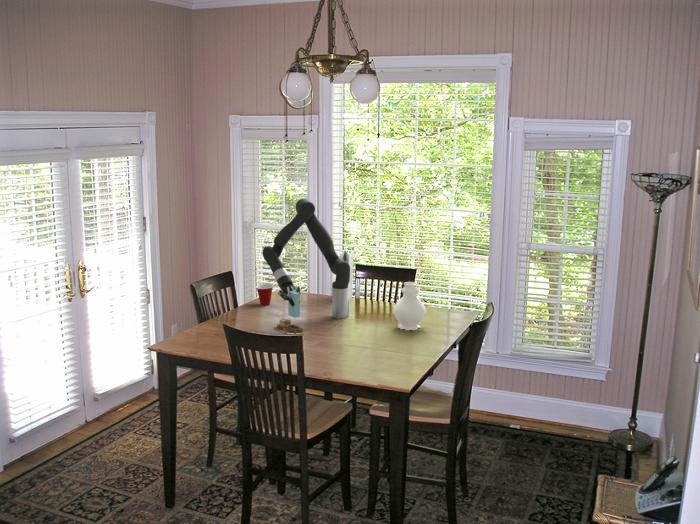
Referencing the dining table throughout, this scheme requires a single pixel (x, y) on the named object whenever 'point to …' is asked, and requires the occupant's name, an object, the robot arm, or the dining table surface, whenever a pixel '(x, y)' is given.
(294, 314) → the teal rectangular block
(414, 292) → the decorative vase
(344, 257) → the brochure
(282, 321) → the offcut top
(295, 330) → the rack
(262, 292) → the plastic cup
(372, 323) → the dining table surface
